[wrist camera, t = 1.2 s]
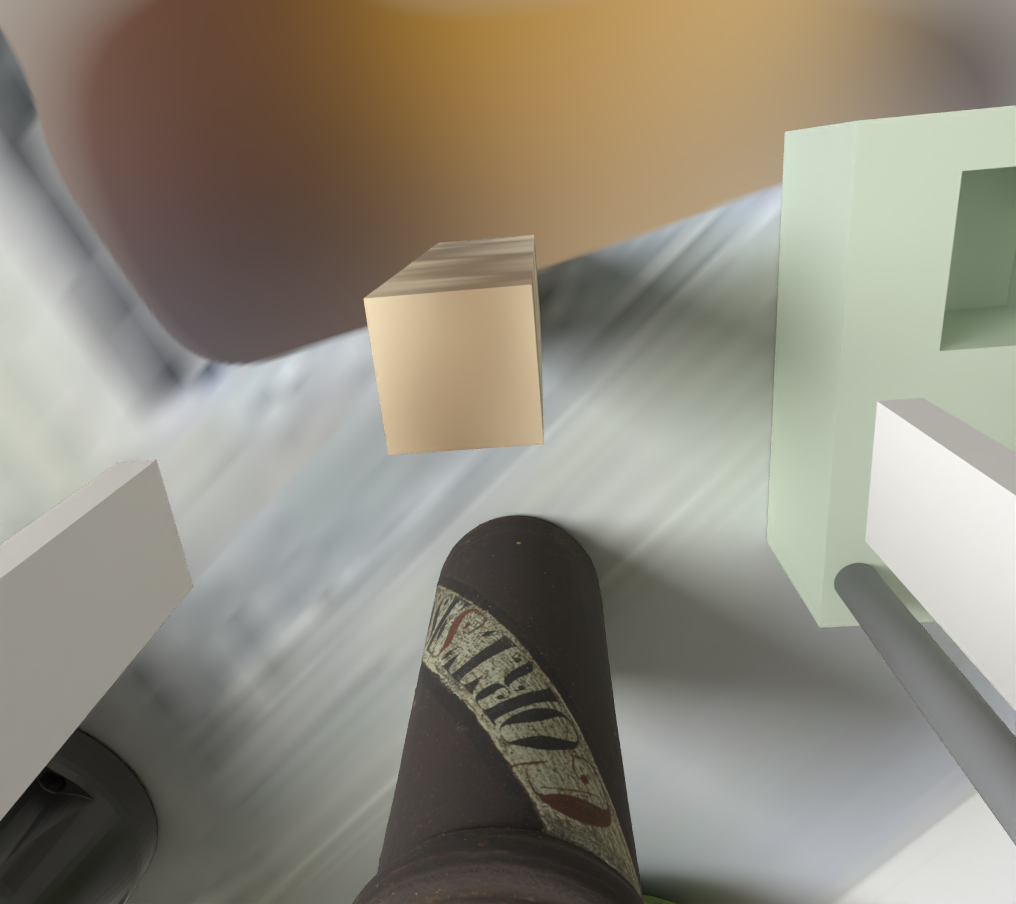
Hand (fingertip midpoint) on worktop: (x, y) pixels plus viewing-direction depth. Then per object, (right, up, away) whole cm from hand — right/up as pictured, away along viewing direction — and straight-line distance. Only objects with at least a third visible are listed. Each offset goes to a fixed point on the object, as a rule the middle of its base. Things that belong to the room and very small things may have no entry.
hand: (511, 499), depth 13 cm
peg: (-1, +8, +17) cm, 19 cm away
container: (0, -6, +23) cm, 24 cm away
